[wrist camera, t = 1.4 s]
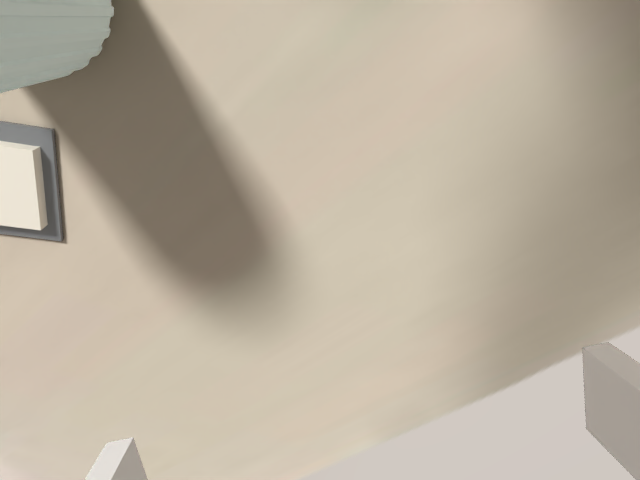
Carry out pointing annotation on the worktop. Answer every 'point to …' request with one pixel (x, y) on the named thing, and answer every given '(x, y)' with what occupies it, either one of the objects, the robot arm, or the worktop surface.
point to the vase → (49, 38)
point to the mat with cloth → (29, 182)
